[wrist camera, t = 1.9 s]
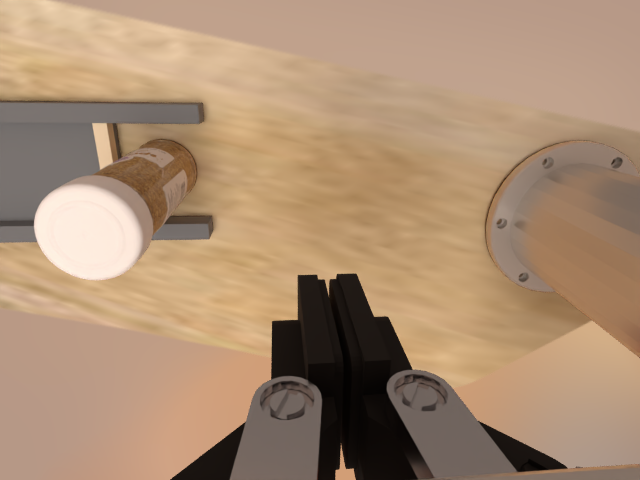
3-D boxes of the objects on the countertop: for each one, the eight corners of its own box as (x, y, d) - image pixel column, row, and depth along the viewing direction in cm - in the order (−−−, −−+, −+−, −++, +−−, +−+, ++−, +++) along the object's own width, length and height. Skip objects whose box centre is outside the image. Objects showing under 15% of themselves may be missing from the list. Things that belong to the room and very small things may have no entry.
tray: (202, 103, 29) (194, 105, 27) (212, 230, 33) (207, 244, 30) (-144, 99, 27) (-189, 101, 25) (-95, 235, 31) (-129, 250, 28)
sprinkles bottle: (161, 124, 29) (73, 161, 17) (211, 171, 31) (163, 237, 18) (119, 169, 30) (6, 236, 18) (169, 212, 32) (97, 302, 19)
